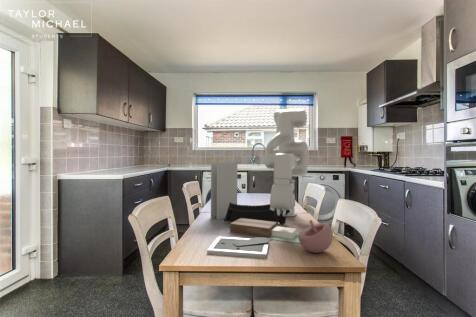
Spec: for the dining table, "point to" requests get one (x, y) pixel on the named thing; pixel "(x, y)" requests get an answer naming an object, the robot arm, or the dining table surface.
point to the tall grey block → (223, 187)
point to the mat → (293, 240)
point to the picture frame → (240, 247)
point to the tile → (283, 232)
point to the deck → (252, 227)
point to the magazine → (251, 213)
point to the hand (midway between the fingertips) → (281, 224)
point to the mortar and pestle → (316, 237)
